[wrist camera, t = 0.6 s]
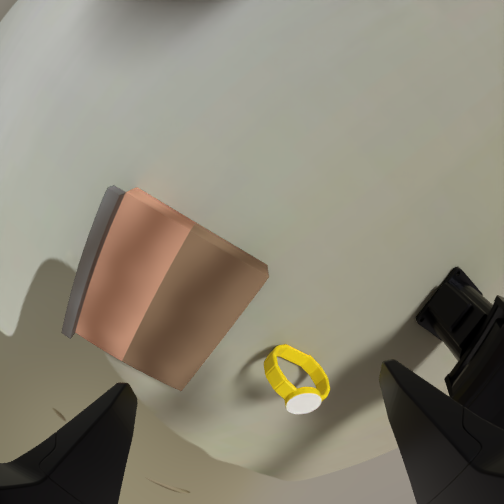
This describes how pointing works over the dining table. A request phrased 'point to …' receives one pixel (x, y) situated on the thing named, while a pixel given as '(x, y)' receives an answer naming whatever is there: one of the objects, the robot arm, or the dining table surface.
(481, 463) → the robot arm
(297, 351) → the watch
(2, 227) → the dining table surface
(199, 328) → the copper slab
